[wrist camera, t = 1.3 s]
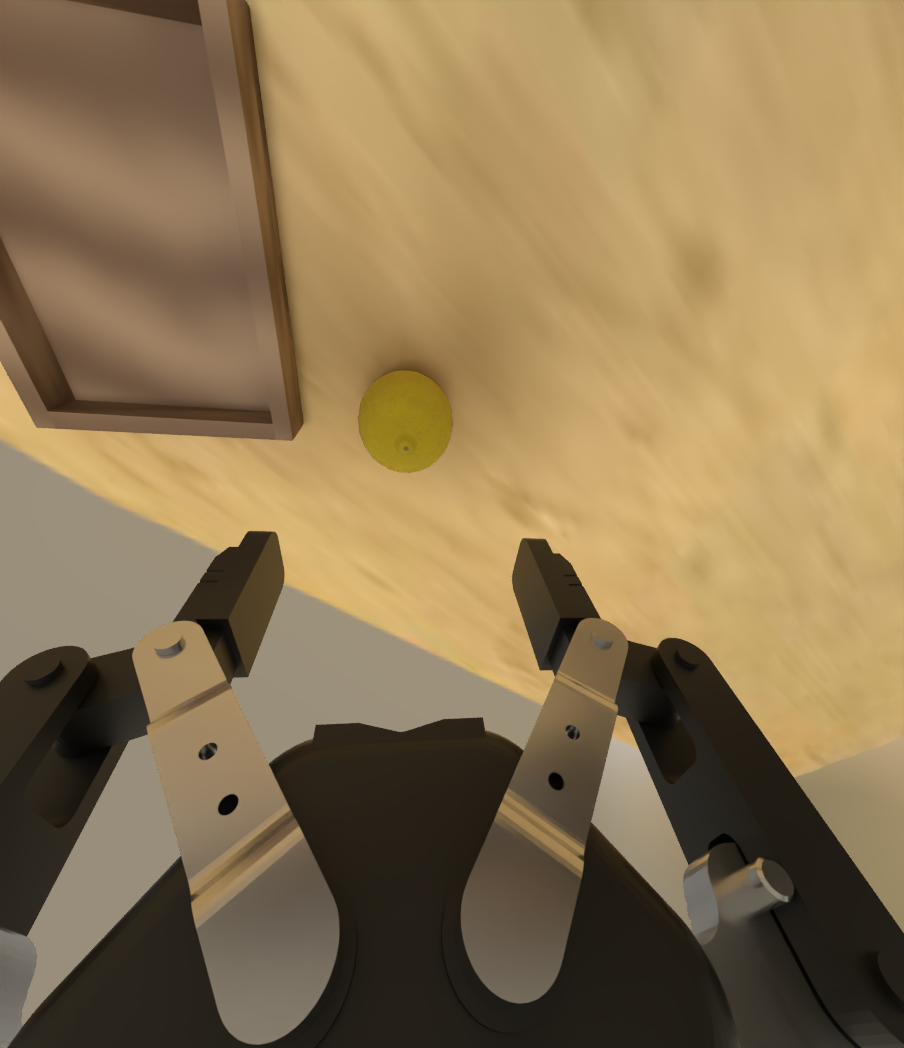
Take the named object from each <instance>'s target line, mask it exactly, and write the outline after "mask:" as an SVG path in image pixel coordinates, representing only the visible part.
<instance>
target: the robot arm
mask: <svg viewBox="0 0 904 1048" xmlns="http://www.w3.org/2000/svg"><path fill="white" fill-rule="evenodd" d="M283 583H284V566H283V561H282V556H281V551H280V546H279V541H278V536H277V534H276V532H266V531H249V532H247V534H246V535H245V537H244V538H243V540H242V542H241V543H240V545H239V547H229V548H227V549H226V550H225V551H223V552H222V553H221V554H219V555H218V556H216V557H215V558H214V560H213V562H212V563H211V564H210V566H209V568H208V569H207V573H205V574H204V575H203V577H202V578H201V580H200V583H198V584H197V586H196V587H195V589H194V590H193V592H192V593H191V595H190V596H189V598H188V599H187V601H186V603H185V604H184V606H183V607H182V609H181V610H180V612H179V613H178V615H177V616H176V618H175V619H174V621H173V622H171V623H168V624H165V625H162V626H160V627H158V628H156V629H154V630H152V631H151V632H149V633H148V634H146V635H145V636H144V637H143V638H142V639H141V640H140V641H139V642H138V643H137V645H136V646H135V647H134V648H131V649H127V650H123V651H120V652H115V653H111V654H107V655H103V656H99V657H95V658H90V657H89V655H88V654H87V652H86V651H85V650H84V649H82V648H80V647H76V646H63V647H57V648H53V649H49V650H46V651H43V652H41V653H38V654H37V655H34V656H32V657H30V658H28V659H27V660H25V661H23V662H22V663H20V664H19V665H17V666H16V667H15V668H14V669H12V670H11V671H10V672H9V673H8V674H7V675H6V676H5V677H4V678H3V680H1V682H0V1048H904V933H903V932H902V930H901V929H900V928H899V926H898V925H897V923H896V922H895V920H894V919H893V917H892V916H891V915H890V913H889V912H888V910H887V909H886V908H885V906H884V905H883V903H882V902H881V901H880V899H879V898H878V896H877V895H876V893H875V892H874V891H873V889H872V888H871V886H870V885H869V883H868V882H867V881H866V879H865V878H864V876H863V875H862V874H861V872H860V871H859V869H858V868H857V866H856V865H855V864H854V862H853V861H852V859H851V858H850V857H849V855H848V854H847V852H846V851H845V849H844V848H843V847H842V845H841V844H840V842H839V841H838V840H837V838H836V837H835V835H834V834H833V832H832V831H831V830H830V828H829V827H828V825H827V824H826V823H825V821H824V820H823V818H822V817H821V815H820V814H819V813H818V811H817V810H816V808H815V807H814V806H813V804H812V803H811V801H810V800H809V798H808V797H807V796H806V794H805V793H804V791H803V790H802V789H801V787H800V786H799V785H798V783H797V782H796V780H795V779H794V777H793V776H792V774H791V773H790V772H789V770H788V769H787V767H786V766H785V764H784V763H783V762H782V760H781V759H780V757H779V756H778V755H777V753H776V752H775V750H774V749H773V747H772V746H771V745H770V743H769V742H768V740H767V739H766V738H765V736H764V735H763V733H762V732H761V730H760V729H759V728H758V726H757V725H756V723H755V722H754V721H753V719H752V718H751V716H750V715H749V714H748V712H747V711H746V709H745V708H744V706H743V705H742V704H741V702H740V701H739V699H738V698H737V697H736V695H735V694H734V692H733V691H732V689H731V688H730V687H729V685H728V684H727V682H726V681H725V680H724V678H723V677H722V675H721V674H720V672H719V671H718V670H717V668H716V667H715V665H714V664H713V663H712V661H711V660H710V658H709V657H708V656H707V655H706V654H705V653H704V652H703V651H702V650H701V649H699V648H698V647H696V646H695V645H693V644H691V643H689V642H687V641H685V640H682V639H678V638H667V639H664V640H663V641H661V643H660V644H659V646H658V647H657V648H654V647H650V646H646V645H642V644H638V643H635V642H631V641H628V640H627V639H626V637H625V635H624V634H623V633H622V632H621V631H620V630H619V629H618V628H617V627H616V626H614V625H613V624H611V623H609V622H608V621H605V620H602V619H601V618H600V616H599V614H598V612H597V611H596V609H595V607H594V605H593V603H592V601H591V600H590V598H589V596H588V594H587V592H586V591H585V589H584V587H583V586H582V583H581V581H580V580H579V578H578V577H577V574H576V572H575V571H574V569H573V567H572V565H571V563H569V562H568V561H567V560H566V559H565V558H564V557H563V556H562V555H561V554H554V553H553V552H552V550H551V548H550V547H549V545H548V543H547V541H546V540H545V539H530V538H523V539H522V540H521V543H520V546H519V550H518V554H517V558H516V562H515V566H514V570H513V575H512V584H513V590H514V593H515V596H516V599H517V602H518V605H519V608H520V611H521V614H522V617H523V620H524V623H525V626H526V629H527V632H528V635H529V638H530V641H531V644H532V647H533V650H534V653H535V657H536V660H537V663H538V666H539V669H540V670H553V673H554V675H555V679H554V682H553V684H552V686H551V689H550V691H549V693H548V696H547V698H546V700H545V703H544V705H543V707H542V709H541V712H540V714H539V717H538V719H537V721H536V723H535V726H534V728H533V731H532V733H531V735H530V738H529V740H528V742H527V744H526V747H525V749H524V751H523V750H522V749H521V748H520V747H519V746H517V745H516V744H514V743H513V742H511V741H510V740H508V739H506V738H504V737H502V736H500V735H498V734H495V733H492V732H489V731H485V728H484V722H483V718H462V719H443V720H440V721H437V722H434V723H431V724H427V725H424V726H421V727H418V728H415V729H412V730H409V731H405V732H397V731H392V730H388V729H383V728H379V727H374V726H370V725H365V724H361V723H349V724H327V725H316V727H315V733H314V737H313V739H311V740H308V741H305V742H303V743H301V744H298V745H296V746H294V747H292V748H291V749H289V750H287V751H285V752H284V753H282V754H281V755H280V756H278V757H277V758H275V759H274V760H273V761H272V762H270V763H269V764H268V762H267V760H266V758H265V756H264V754H263V751H262V749H261V747H260V745H259V743H258V741H257V739H256V737H255V735H254V733H253V731H252V729H251V726H250V724H249V722H248V720H247V718H246V716H245V714H244V712H243V710H242V708H241V706H240V704H239V701H238V699H237V697H236V695H235V693H234V691H233V689H232V687H231V685H230V683H231V681H232V679H233V678H234V677H248V676H249V673H250V670H251V668H252V665H253V663H254V660H255V658H256V655H257V652H258V650H259V647H260V645H261V642H262V639H263V637H264V634H265V632H266V629H267V626H268V623H269V621H270V619H271V616H272V614H273V611H274V608H275V606H276V603H277V600H278V598H279V595H280V593H281V590H282V587H283ZM617 715H619V716H622V717H626V719H627V721H628V724H629V726H630V729H631V731H632V733H633V736H634V738H635V740H636V743H637V745H638V747H639V750H640V752H641V754H642V756H643V759H644V761H645V764H646V766H647V768H648V771H649V773H650V775H651V778H652V780H653V782H654V785H655V787H656V789H657V792H658V794H659V796H660V799H661V801H662V804H663V806H664V808H665V811H666V813H667V815H668V818H669V820H670V822H671V824H672V827H673V829H674V832H675V834H676V836H677V839H678V841H679V843H680V846H681V848H682V850H683V853H684V855H685V858H686V860H687V862H688V867H687V868H686V870H685V873H684V876H683V890H684V896H685V899H686V902H687V912H688V916H689V918H690V920H691V930H690V929H689V928H688V926H687V925H686V924H685V923H684V921H683V920H682V919H681V918H680V917H679V916H678V915H677V913H676V912H675V911H674V910H673V909H672V908H671V907H670V906H669V905H668V904H667V903H666V902H665V901H664V900H663V898H662V897H661V896H660V895H659V894H658V893H657V892H656V891H655V890H654V889H653V888H652V887H651V886H650V885H649V883H648V882H646V880H645V879H644V878H643V877H642V876H641V875H640V874H639V873H638V872H637V871H636V870H635V869H634V867H633V866H632V865H631V864H630V863H629V862H628V861H627V860H626V859H625V858H624V857H623V856H622V855H621V853H619V852H618V850H617V849H616V848H615V847H614V846H613V845H612V844H611V843H610V842H609V841H608V840H607V839H606V838H605V836H604V835H603V834H602V833H601V832H600V831H599V830H598V829H597V828H596V827H595V826H594V825H593V824H592V823H591V820H592V816H593V812H594V808H595V803H596V799H597V795H598V791H599V787H600V783H601V779H602V775H603V770H604V766H605V762H606V757H607V754H608V749H609V745H610V741H611V737H612V733H613V729H614V725H615V721H616V717H617ZM147 734H148V737H149V741H150V744H151V748H152V751H153V755H154V759H155V763H156V766H157V770H158V773H159V777H160V781H161V784H162V788H163V792H164V795H165V799H166V803H167V806H168V810H169V814H170V817H171V821H172V824H173V828H174V832H175V835H176V839H177V843H178V846H179V850H180V854H181V856H180V857H179V858H178V859H177V860H176V861H175V863H174V864H173V865H172V866H171V867H170V868H169V869H168V870H167V871H166V872H165V873H164V874H163V875H162V876H161V877H160V879H159V880H158V881H157V882H156V883H155V884H154V885H153V886H152V887H151V888H150V889H149V890H148V891H147V892H146V893H145V894H144V895H143V896H142V897H141V899H140V900H139V901H138V902H137V903H136V904H135V905H134V906H133V907H132V908H131V909H130V910H129V911H128V912H127V913H126V914H125V915H124V917H123V918H122V919H121V920H120V921H119V922H118V923H117V924H116V925H115V926H114V927H113V928H112V929H111V930H110V931H109V932H108V933H107V935H106V936H105V937H104V938H103V939H102V940H101V941H100V942H99V943H98V944H97V945H96V946H95V947H94V948H93V949H92V950H91V951H90V953H89V954H88V955H87V956H86V957H85V958H84V959H83V960H82V961H81V962H80V963H79V964H78V965H77V966H76V967H75V968H74V969H73V971H72V972H71V973H70V974H69V975H68V976H67V977H66V978H65V979H64V980H63V981H62V982H61V983H60V984H59V985H58V986H57V987H56V989H55V990H54V991H53V992H52V993H51V994H50V995H49V996H48V997H47V999H45V1000H44V1001H43V1003H42V1004H41V1005H40V1006H39V1007H38V1008H37V1009H36V1011H35V1012H34V1013H33V1014H32V1015H31V1017H30V1018H29V1019H28V1021H27V1022H26V1023H25V1024H24V1025H23V1027H22V1022H21V1018H22V1009H23V1005H24V1002H25V1000H26V997H27V993H28V989H29V986H30V984H31V981H32V978H33V976H34V972H35V968H36V962H37V953H36V947H35V945H34V943H33V942H32V941H31V939H30V938H28V937H27V935H28V933H29V931H30V929H31V928H32V925H33V924H34V922H35V920H36V918H37V916H38V914H39V912H40V910H41V908H42V906H43V904H44V903H45V901H46V899H47V897H48V895H49V893H50V891H51V889H52V887H53V885H54V883H55V881H56V880H57V877H58V876H59V874H60V872H61V870H62V868H63V866H64V864H65V862H66V860H67V858H68V857H69V854H70V853H71V851H72V849H73V847H74V845H75V843H76V841H77V839H78V837H79V835H80V834H81V832H82V830H83V828H84V826H85V824H86V822H87V820H88V818H89V816H90V814H91V812H92V810H93V808H94V807H95V805H96V803H97V801H98V799H99V797H100V795H101V793H102V791H103V789H104V787H105V786H106V784H107V782H108V780H109V778H110V776H111V774H112V772H113V770H114V768H115V766H116V764H117V763H118V760H119V759H120V757H121V755H122V753H123V751H124V749H125V747H126V745H127V743H128V741H129V740H132V739H135V738H138V737H141V736H144V735H147Z"/></svg>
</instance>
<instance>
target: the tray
mask: <svg viewBox="0 0 904 1048" xmlns="http://www.w3.org/2000/svg"><path fill="white" fill-rule="evenodd" d="M0 361H1V363H2V365H3V367H4V369H5V370H6V372H7V374H8V376H9V378H10V380H11V382H12V383H13V385H14V387H15V389H16V391H17V393H18V394H19V396H20V398H21V400H22V402H23V404H24V405H25V407H26V409H27V411H28V413H29V415H30V416H31V418H32V420H33V422H34V424H35V426H36V427H37V428H54V429H74V430H93V431H113V432H133V433H152V434H172V435H192V436H211V437H231V438H251V439H270V440H290V441H293V439H294V438H295V436H296V435H297V433H298V432H299V430H300V428H301V427H302V425H303V416H302V409H301V401H300V393H299V386H298V378H297V370H296V363H295V355H294V347H293V340H292V332H291V324H290V317H289V309H288V301H287V294H286V286H285V278H284V270H283V263H282V255H281V247H280V240H279V232H278V224H277V217H276V209H275V201H274V194H273V186H272V178H271V171H270V163H269V155H268V147H267V140H266V132H265V124H264V117H263V109H262V101H261V94H260V86H259V78H258V71H257V63H256V55H255V48H254V40H253V32H252V25H251V17H250V9H249V6H248V4H247V3H246V1H245V0H0Z"/></svg>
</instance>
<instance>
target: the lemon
mask: <svg viewBox="0 0 904 1048" xmlns="http://www.w3.org/2000/svg"><path fill="white" fill-rule="evenodd" d="M358 421H359V431H360V435H361V437H362V440H363V443H364V445H365V447H366V449H367V450H368V452H369V453H370V454H371V456H372V457H373V458H374V459H375V460H376V461H377V462H379V463H380V464H381V465H383V466H385V467H386V468H388V469H390V470H394V471H397V472H407V473H410V472H416V471H420V470H423V469H425V468H427V467H429V466H430V465H432V464H433V463H434V462H436V461H437V460H438V459H439V458H440V456H441V455H442V454H443V453H444V451H445V449H446V447H447V445H448V443H449V440H450V437H451V432H452V426H453V422H452V411H451V408H450V405H449V402H448V400H447V397H446V396H445V394H444V393H443V391H442V390H441V388H440V387H439V386H438V385H437V384H436V383H435V382H434V381H432V380H431V379H430V378H429V377H427V376H425V375H423V374H421V373H418V372H413V371H409V370H403V371H394V372H391V373H388V374H385V375H383V376H382V377H380V378H379V379H377V380H376V381H375V382H374V383H373V384H372V385H371V386H370V387H369V389H368V390H367V391H366V393H365V395H364V397H363V399H362V401H361V404H360V410H359V416H358Z"/></svg>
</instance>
